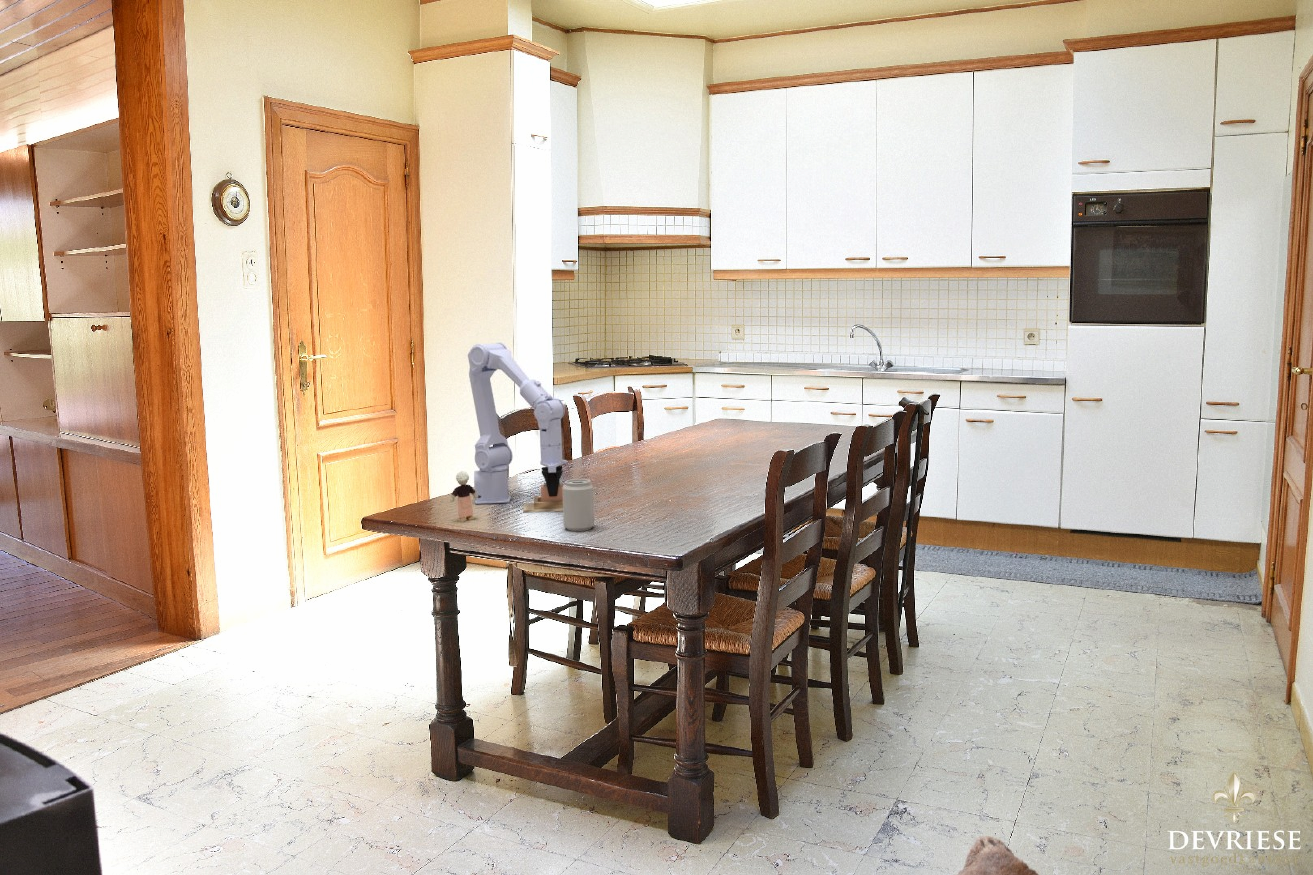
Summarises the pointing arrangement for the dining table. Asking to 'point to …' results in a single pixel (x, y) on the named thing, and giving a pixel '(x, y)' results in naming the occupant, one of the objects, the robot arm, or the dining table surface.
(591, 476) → the dining table surface
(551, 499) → the salmon block
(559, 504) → the frame
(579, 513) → the can
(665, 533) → the dining table surface
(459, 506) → the grandmother figurine
